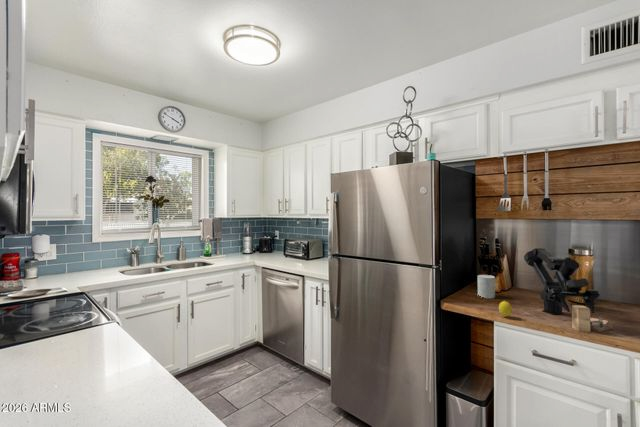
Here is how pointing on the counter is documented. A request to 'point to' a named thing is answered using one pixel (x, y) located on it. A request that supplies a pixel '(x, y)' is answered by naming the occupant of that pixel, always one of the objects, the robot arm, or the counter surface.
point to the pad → (598, 320)
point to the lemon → (505, 308)
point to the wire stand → (599, 325)
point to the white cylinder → (486, 286)
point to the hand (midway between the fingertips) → (581, 312)
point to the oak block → (581, 318)
